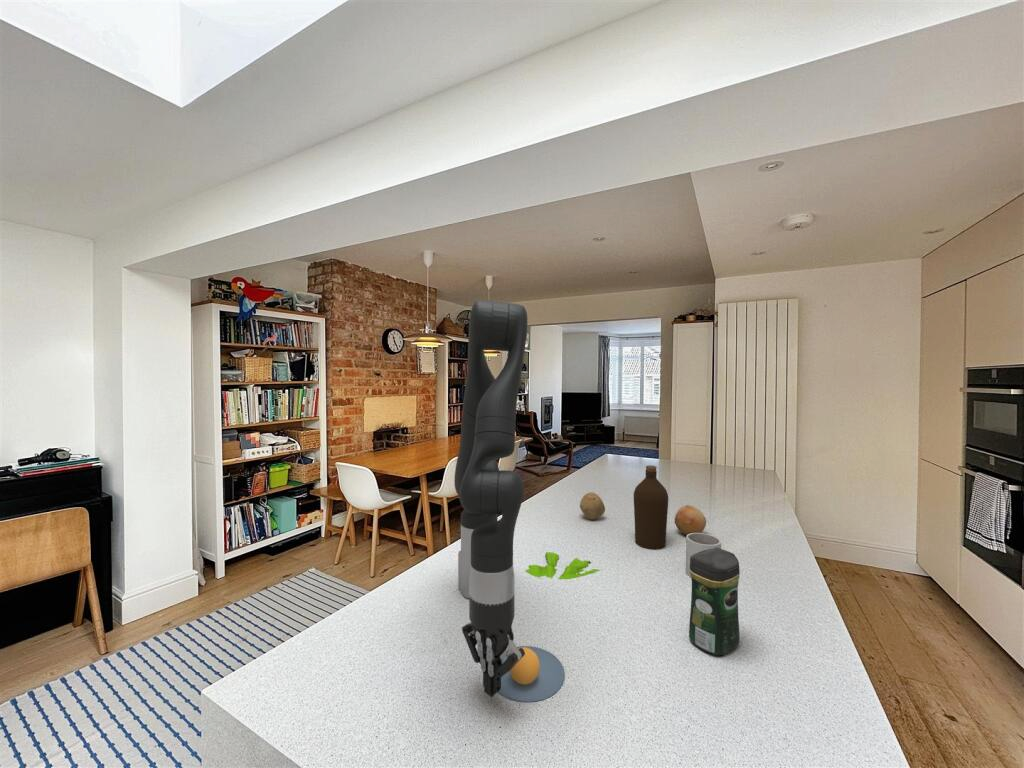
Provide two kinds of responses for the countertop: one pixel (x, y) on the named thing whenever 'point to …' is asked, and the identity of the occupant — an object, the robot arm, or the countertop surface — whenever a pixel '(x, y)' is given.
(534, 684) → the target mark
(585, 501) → the potato
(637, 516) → the olive oil
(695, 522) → the onion
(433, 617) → the countertop surface
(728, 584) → the coffee jar
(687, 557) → the mug
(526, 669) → the ball
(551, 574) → the leaves
